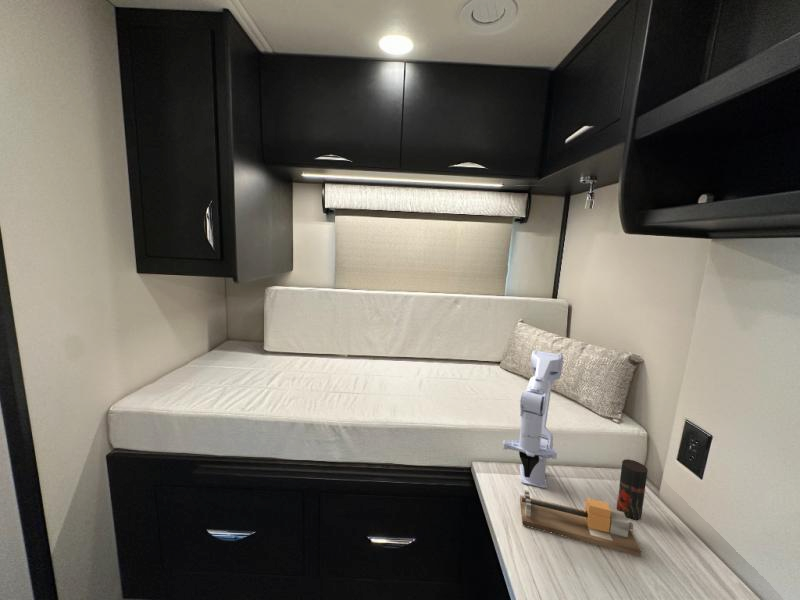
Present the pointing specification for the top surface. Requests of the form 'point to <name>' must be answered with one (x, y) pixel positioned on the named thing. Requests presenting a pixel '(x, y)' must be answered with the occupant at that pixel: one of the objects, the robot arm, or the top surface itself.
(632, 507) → the deodorant
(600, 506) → the orange notched block
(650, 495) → the top surface
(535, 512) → the cord board
